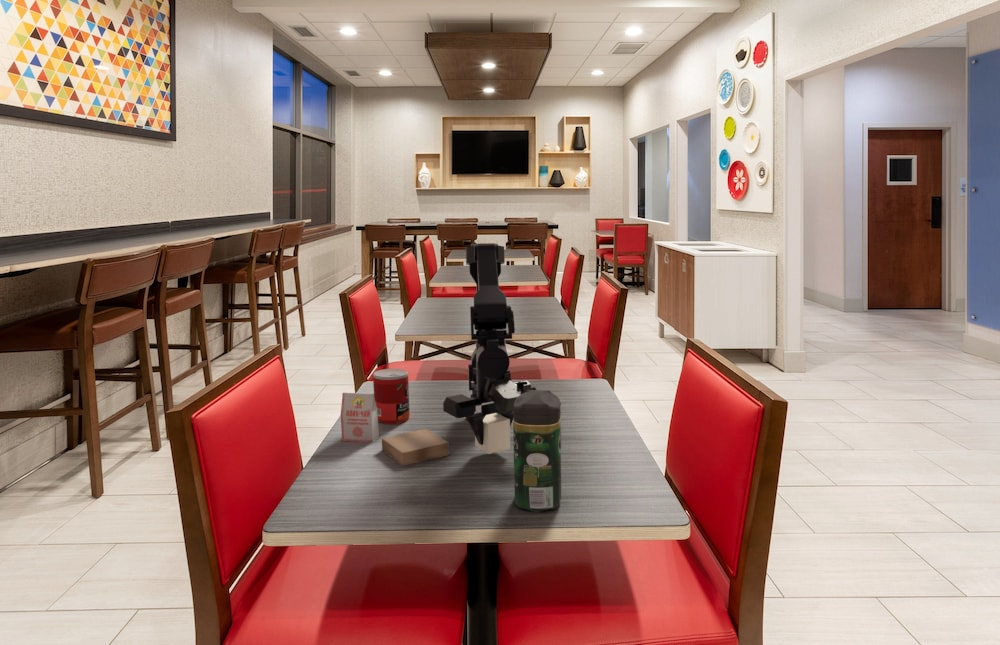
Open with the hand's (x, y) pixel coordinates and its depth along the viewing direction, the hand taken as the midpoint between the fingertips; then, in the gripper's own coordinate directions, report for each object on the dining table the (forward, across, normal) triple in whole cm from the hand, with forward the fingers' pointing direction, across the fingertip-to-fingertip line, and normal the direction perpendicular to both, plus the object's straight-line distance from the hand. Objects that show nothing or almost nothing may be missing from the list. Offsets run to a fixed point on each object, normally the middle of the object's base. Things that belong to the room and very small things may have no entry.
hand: (492, 441), depth 139 cm
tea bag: (+3, -18, +24) cm, 30 cm away
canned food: (+3, -7, +32) cm, 33 cm away
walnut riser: (+3, -12, +10) cm, 16 cm away
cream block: (+1, 0, 0) cm, 1 cm away
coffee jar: (+3, -5, -22) cm, 23 cm away
